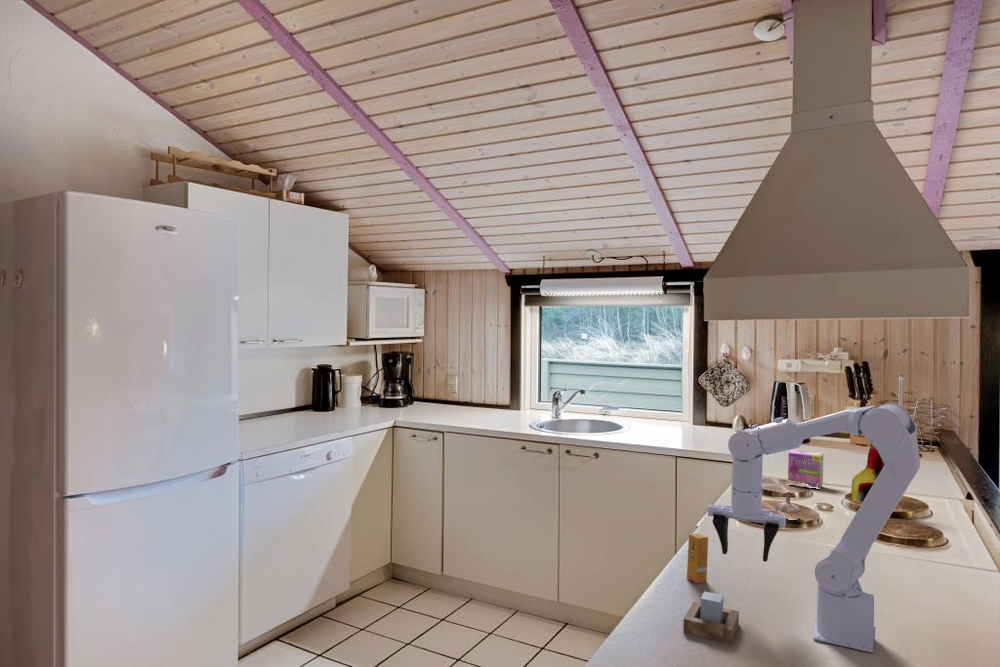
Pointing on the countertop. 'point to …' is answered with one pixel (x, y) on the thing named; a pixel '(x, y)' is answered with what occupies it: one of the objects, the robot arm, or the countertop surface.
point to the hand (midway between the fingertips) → (744, 556)
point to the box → (806, 467)
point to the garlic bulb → (787, 506)
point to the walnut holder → (711, 624)
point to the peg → (712, 607)
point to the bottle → (867, 476)
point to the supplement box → (697, 558)
